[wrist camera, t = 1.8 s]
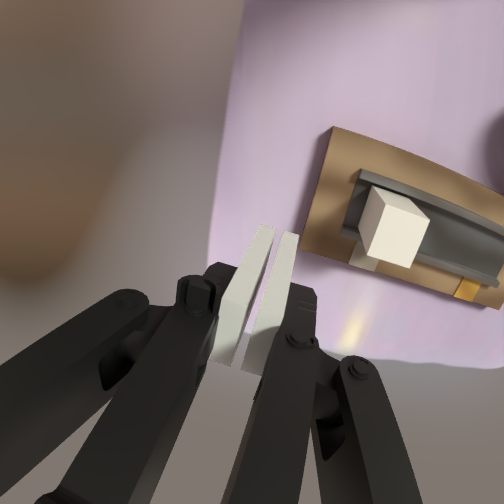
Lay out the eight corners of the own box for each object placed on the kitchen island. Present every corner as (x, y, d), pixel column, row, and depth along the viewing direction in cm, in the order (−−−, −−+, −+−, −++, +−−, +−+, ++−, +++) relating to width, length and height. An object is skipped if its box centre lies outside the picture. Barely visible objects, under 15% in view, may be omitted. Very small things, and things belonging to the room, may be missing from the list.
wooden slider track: (333, 125, 29) (334, 126, 26) (534, 214, 26) (547, 222, 23) (300, 241, 34) (297, 253, 32) (493, 302, 32) (502, 315, 29)
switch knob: (371, 185, 28) (385, 204, 22) (408, 198, 28) (429, 220, 22) (357, 226, 30) (366, 255, 24) (393, 238, 30) (409, 268, 24)
